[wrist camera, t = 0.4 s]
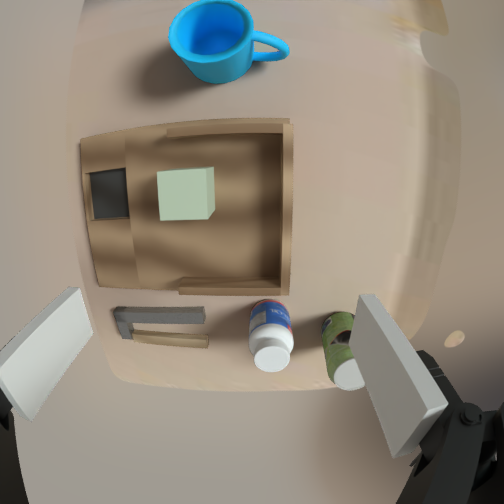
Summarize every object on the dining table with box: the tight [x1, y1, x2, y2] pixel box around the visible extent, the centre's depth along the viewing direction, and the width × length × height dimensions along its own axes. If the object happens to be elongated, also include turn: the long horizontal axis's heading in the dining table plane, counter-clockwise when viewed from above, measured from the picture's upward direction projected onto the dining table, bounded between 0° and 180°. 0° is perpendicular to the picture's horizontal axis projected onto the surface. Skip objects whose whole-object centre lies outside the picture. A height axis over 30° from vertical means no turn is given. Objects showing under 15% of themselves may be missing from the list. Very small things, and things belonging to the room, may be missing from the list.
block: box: [157, 167, 215, 221], centre depth 28 cm, size 5×5×5 cm
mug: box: [168, 0, 290, 84], centre depth 23 cm, size 12×8×8 cm
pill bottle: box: [249, 299, 294, 372], centre depth 33 cm, size 6×5×10 cm
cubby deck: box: [80, 118, 293, 296], centre depth 31 cm, size 21×26×4 cm
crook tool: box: [113, 307, 206, 339], centre depth 38 cm, size 5×14×2 cm, turn 94°
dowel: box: [132, 330, 209, 348], centre depth 39 cm, size 2×12×2 cm, turn 90°
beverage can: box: [321, 312, 365, 390], centre depth 33 cm, size 6×7×12 cm
